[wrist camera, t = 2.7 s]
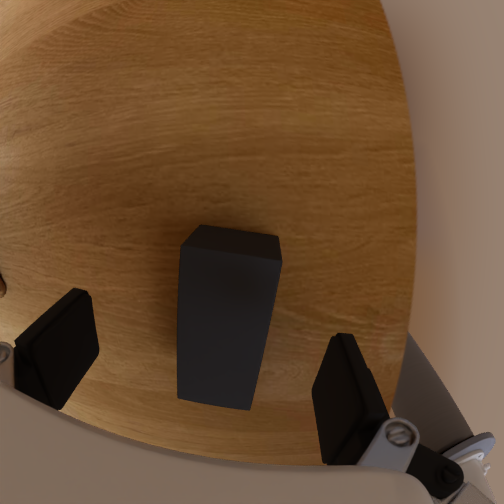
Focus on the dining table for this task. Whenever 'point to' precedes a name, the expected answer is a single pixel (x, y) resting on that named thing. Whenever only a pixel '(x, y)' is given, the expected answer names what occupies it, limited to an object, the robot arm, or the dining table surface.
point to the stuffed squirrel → (2, 289)
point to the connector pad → (224, 313)
